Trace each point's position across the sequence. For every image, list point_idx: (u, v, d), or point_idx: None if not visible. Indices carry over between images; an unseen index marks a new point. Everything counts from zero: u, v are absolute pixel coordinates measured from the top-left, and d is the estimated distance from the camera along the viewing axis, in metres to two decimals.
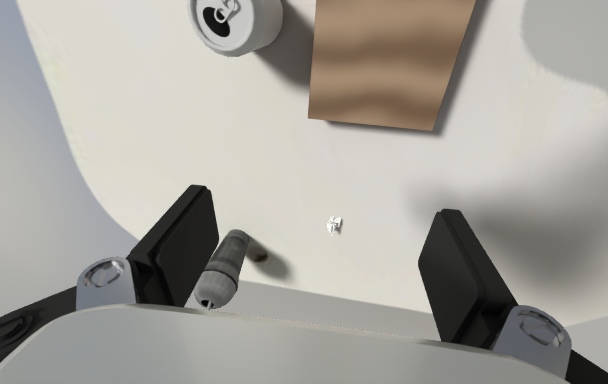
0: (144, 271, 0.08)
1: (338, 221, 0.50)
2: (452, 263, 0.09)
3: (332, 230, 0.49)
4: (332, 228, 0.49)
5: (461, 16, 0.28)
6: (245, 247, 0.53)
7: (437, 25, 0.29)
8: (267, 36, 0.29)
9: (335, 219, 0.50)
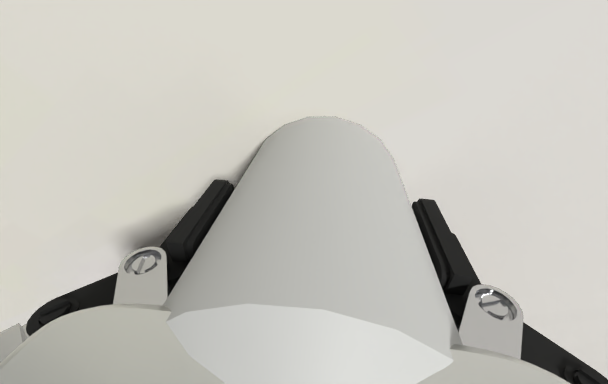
0: (178, 260, 0.08)
1: None
2: None
3: None
4: None
5: None
6: None
7: None
8: None
9: None
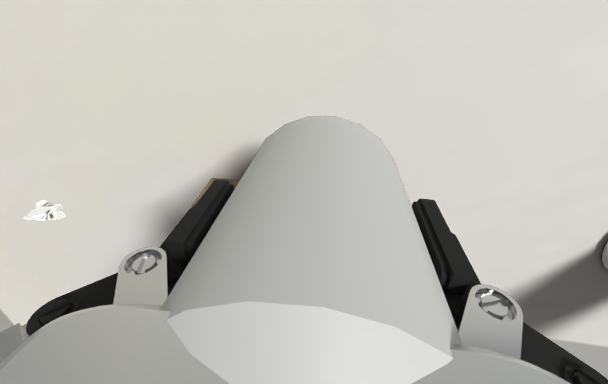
0: (178, 260, 0.08)
1: (57, 217, 0.34)
2: None
3: None
4: None
5: None
6: None
7: None
8: None
9: (58, 212, 0.34)
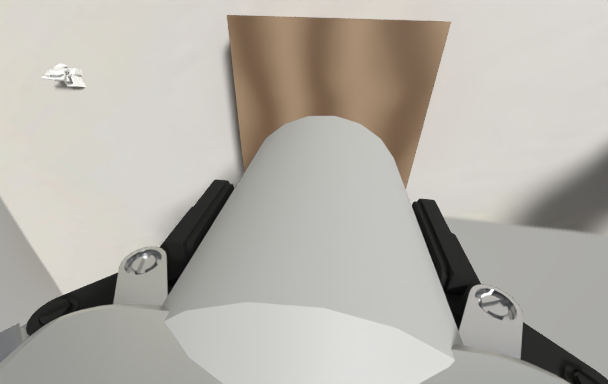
0: (178, 260, 0.08)
1: (76, 83, 0.32)
2: None
3: (53, 76, 0.30)
4: (57, 76, 0.30)
5: None
6: None
7: None
8: None
9: (77, 77, 0.32)
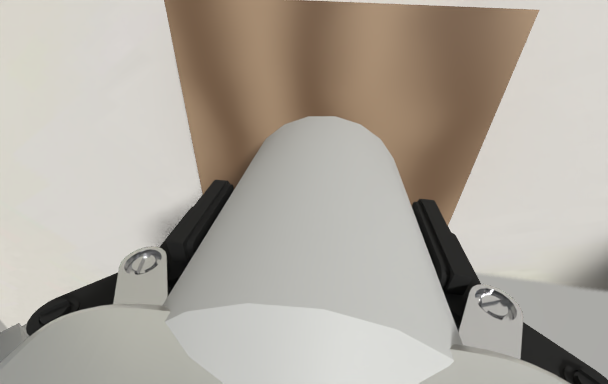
0: (178, 260, 0.08)
1: None
2: None
3: None
4: None
5: None
6: None
7: None
8: None
9: None
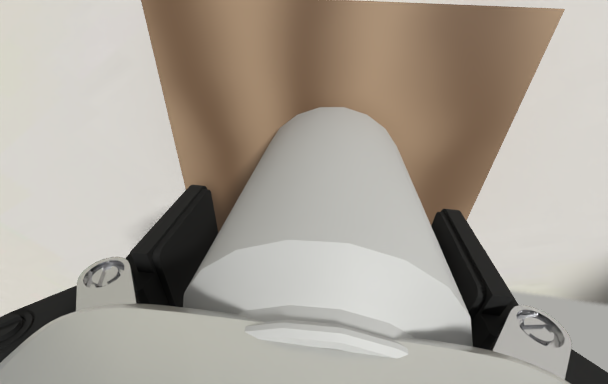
0: (144, 271, 0.08)
1: None
2: (452, 263, 0.09)
3: None
4: None
5: None
6: None
7: None
8: None
9: None
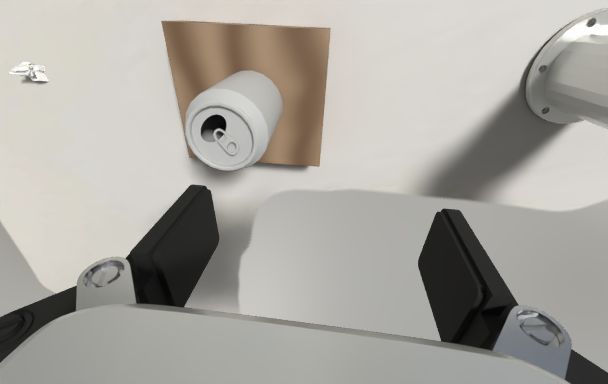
0: (144, 271, 0.08)
1: (40, 78, 0.37)
2: (452, 263, 0.09)
3: (19, 72, 0.36)
4: (22, 72, 0.36)
5: (277, 157, 0.37)
6: None
7: (269, 142, 0.35)
8: None
9: (40, 73, 0.37)
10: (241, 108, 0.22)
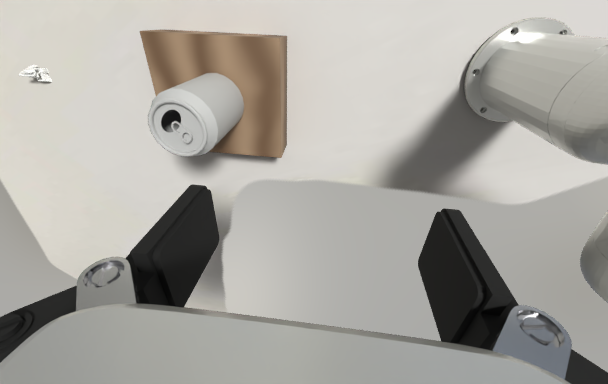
0: (144, 271, 0.08)
1: (44, 79, 0.44)
2: (452, 263, 0.09)
3: (27, 74, 0.42)
4: (29, 74, 0.42)
5: (243, 149, 0.42)
6: None
7: (236, 135, 0.41)
8: None
9: (45, 75, 0.44)
10: (191, 104, 0.27)
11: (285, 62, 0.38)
